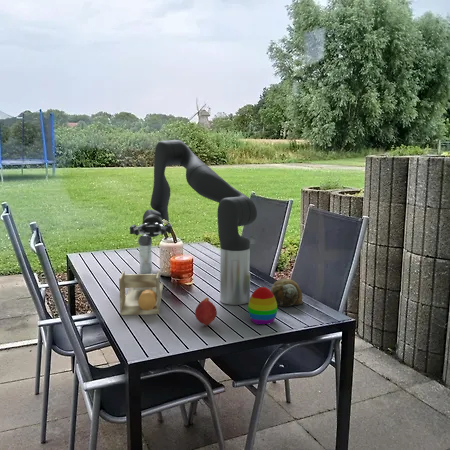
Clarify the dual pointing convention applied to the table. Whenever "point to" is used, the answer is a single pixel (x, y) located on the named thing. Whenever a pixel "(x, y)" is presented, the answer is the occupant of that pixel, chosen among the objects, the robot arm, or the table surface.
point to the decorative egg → (262, 306)
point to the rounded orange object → (147, 300)
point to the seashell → (287, 292)
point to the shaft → (145, 257)
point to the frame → (138, 292)
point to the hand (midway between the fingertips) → (149, 232)
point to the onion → (205, 312)
